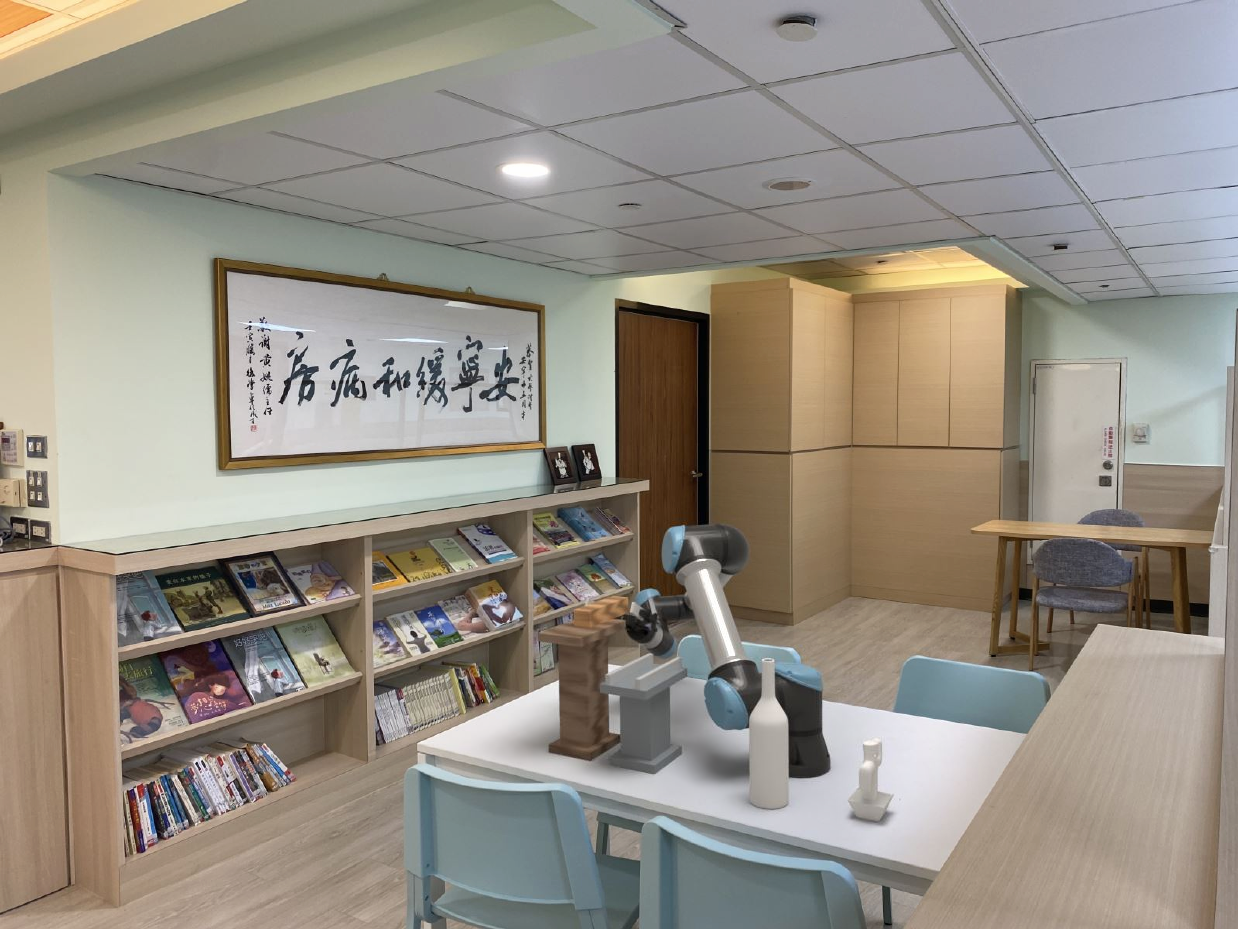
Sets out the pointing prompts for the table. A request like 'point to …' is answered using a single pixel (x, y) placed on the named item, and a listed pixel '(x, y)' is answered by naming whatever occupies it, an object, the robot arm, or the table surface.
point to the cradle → (644, 712)
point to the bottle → (768, 746)
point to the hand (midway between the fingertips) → (609, 604)
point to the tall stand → (583, 688)
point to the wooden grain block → (600, 611)
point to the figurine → (870, 785)
